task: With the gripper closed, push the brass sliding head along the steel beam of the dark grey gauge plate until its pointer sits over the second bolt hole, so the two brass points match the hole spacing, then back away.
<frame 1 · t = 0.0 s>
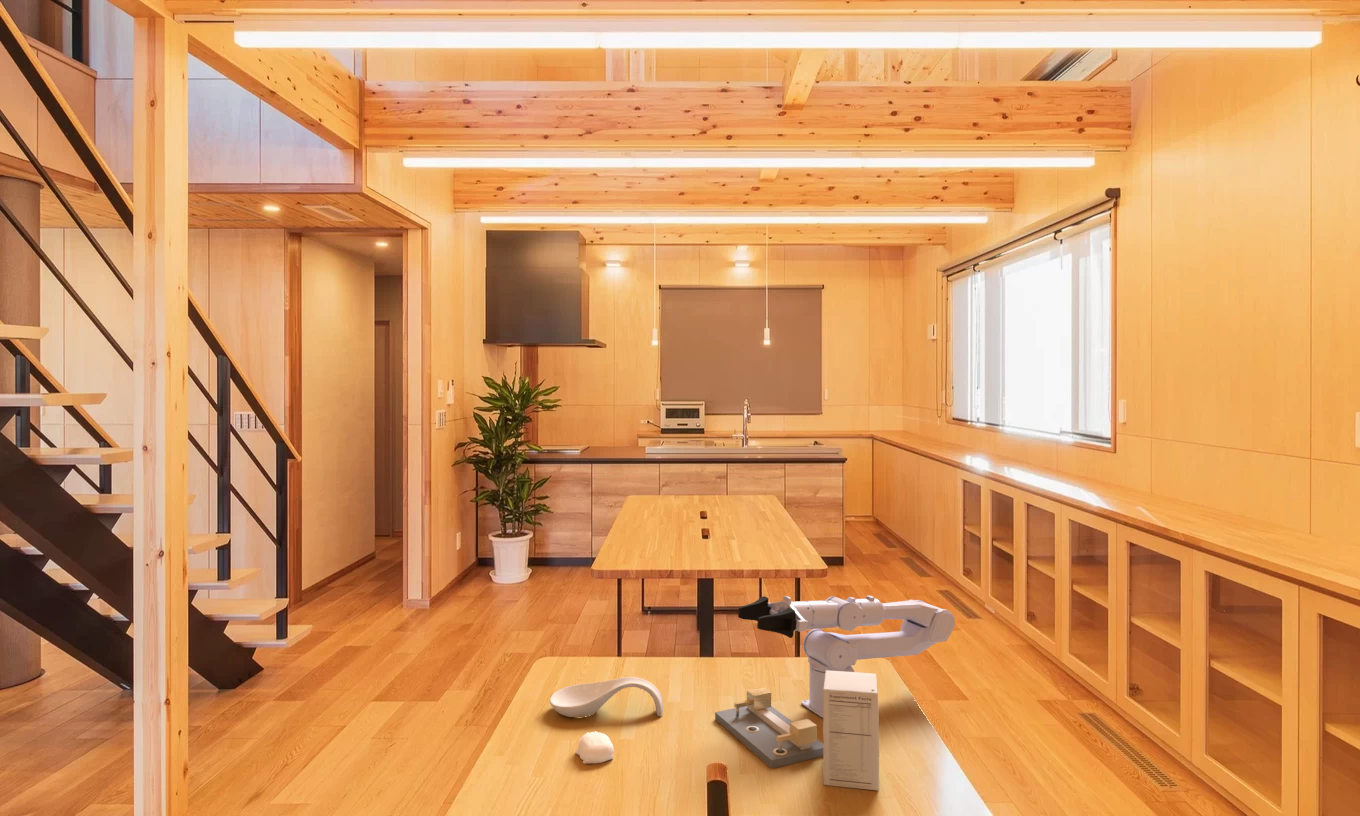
hand: (748, 617, 152), 22 cm above the table, tool horizontal, fingers open, 7 cm apart
supplement box: (850, 776, 133), on the table
gauge plate: (768, 736, 148), on the table
white rounded lump: (595, 757, 140), on the table
spoon rest: (606, 713, 159), on the table
sliding trammel head: (751, 703, 154), point 4 cm above the table, slide at 0.0 cm
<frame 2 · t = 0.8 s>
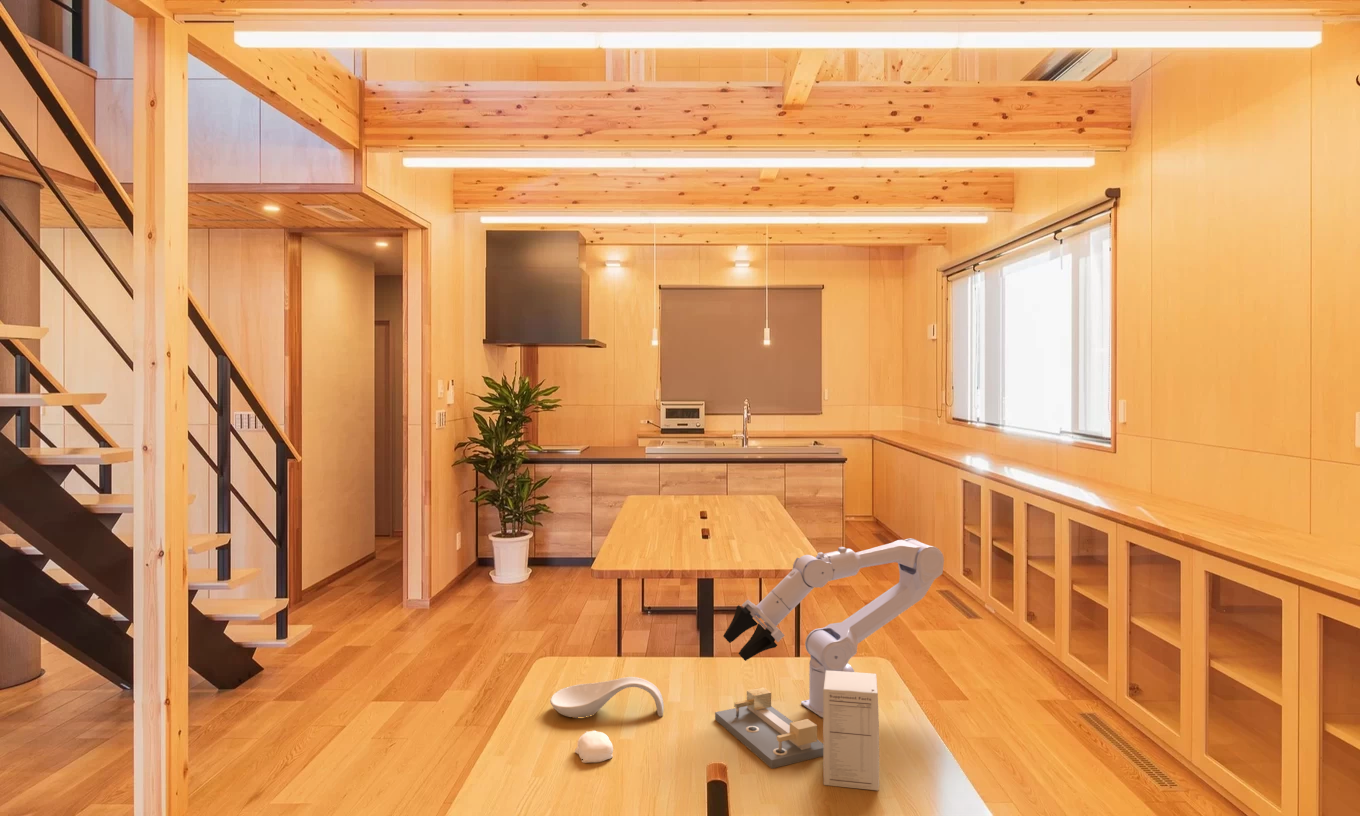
hand: (733, 648, 156), 14 cm above the table, tool tilted 50°, fingers open, 7 cm apart
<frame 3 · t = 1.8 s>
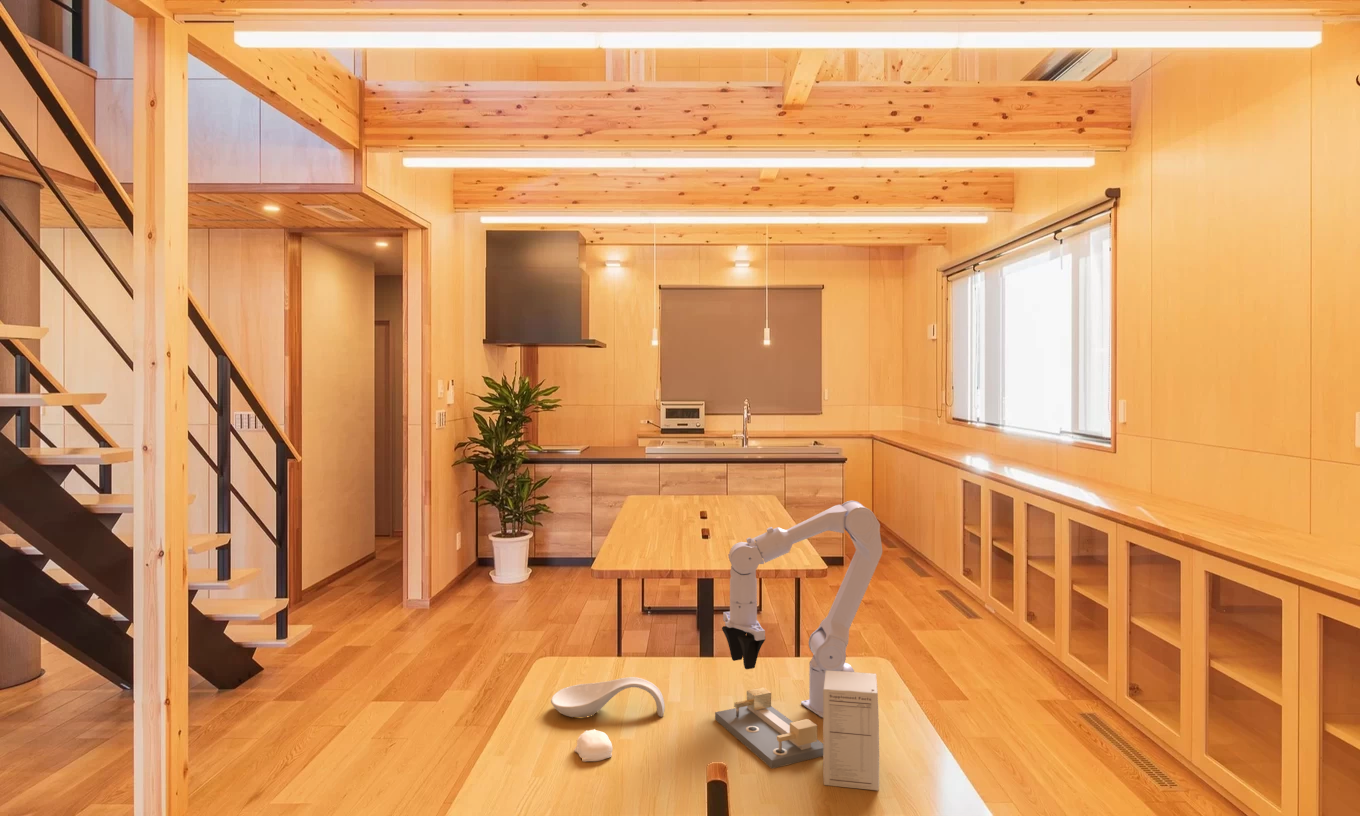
hand: (743, 663, 161), 9 cm above the table, tool pointing down, fingers open, 5 cm apart
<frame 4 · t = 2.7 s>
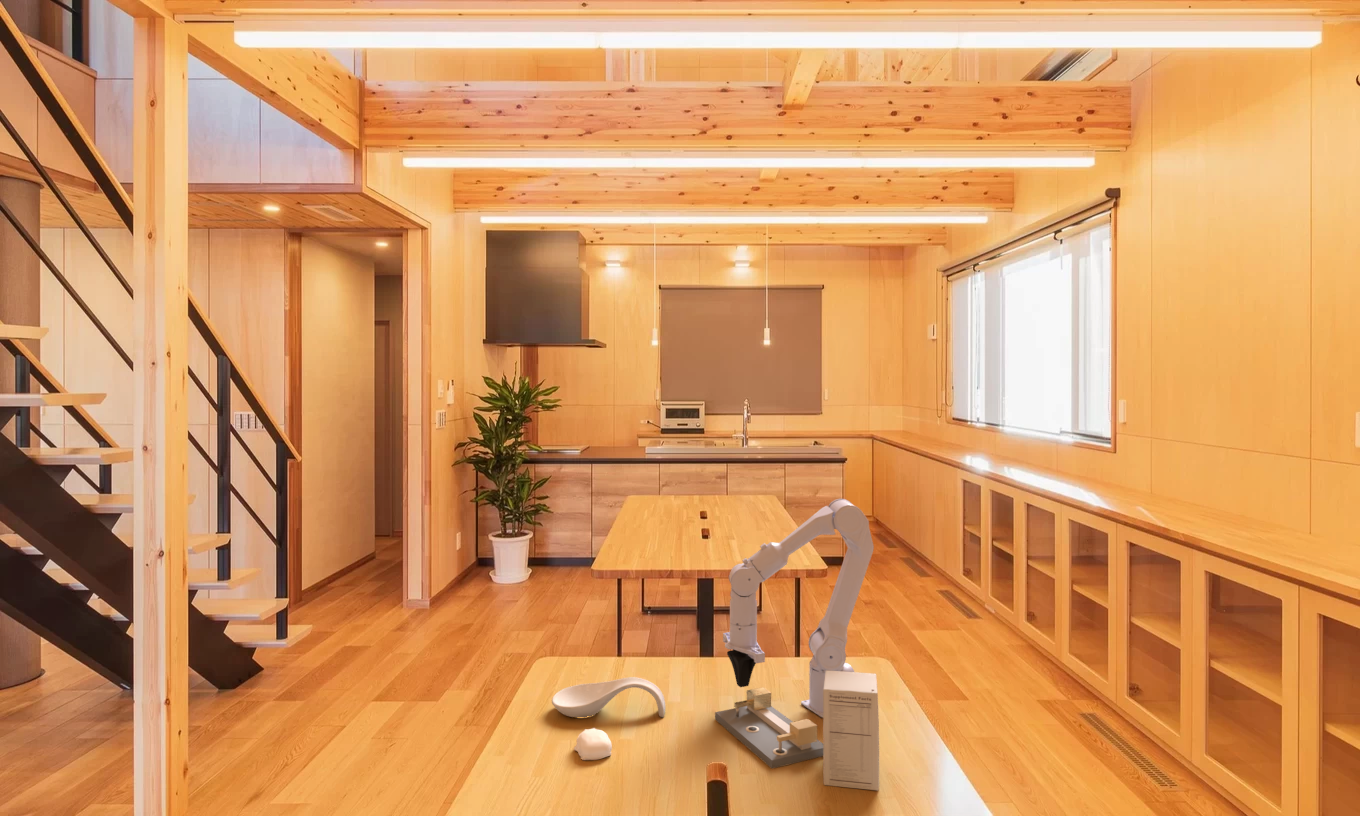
hand: (742, 685, 161), 5 cm above the table, tool pointing down, fingers closed
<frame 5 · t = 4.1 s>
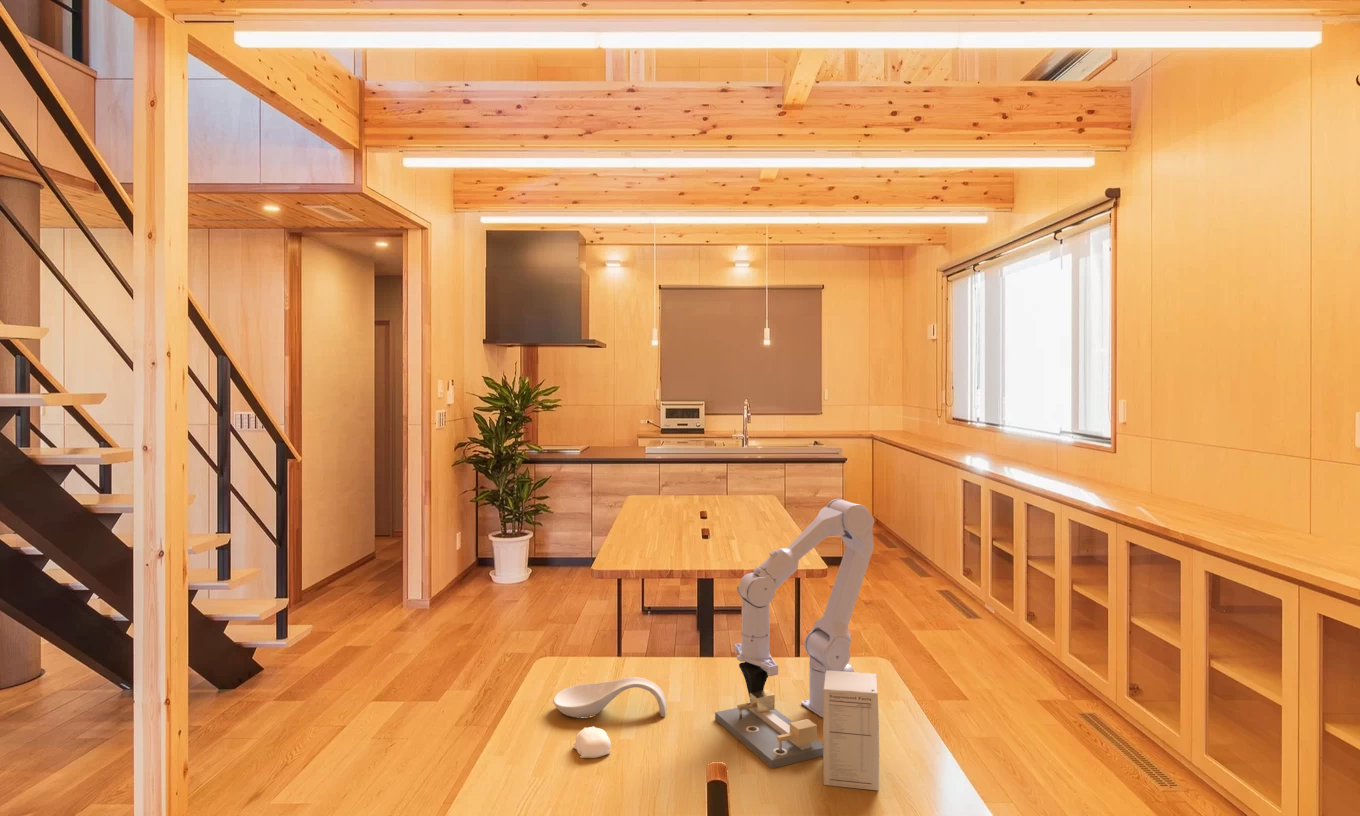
hand: (755, 698, 156), 4 cm above the table, tool pointing down, fingers closed
sliding trammel head: (754, 705, 153), point 4 cm above the table, slide at 1.3 cm, touching gripper
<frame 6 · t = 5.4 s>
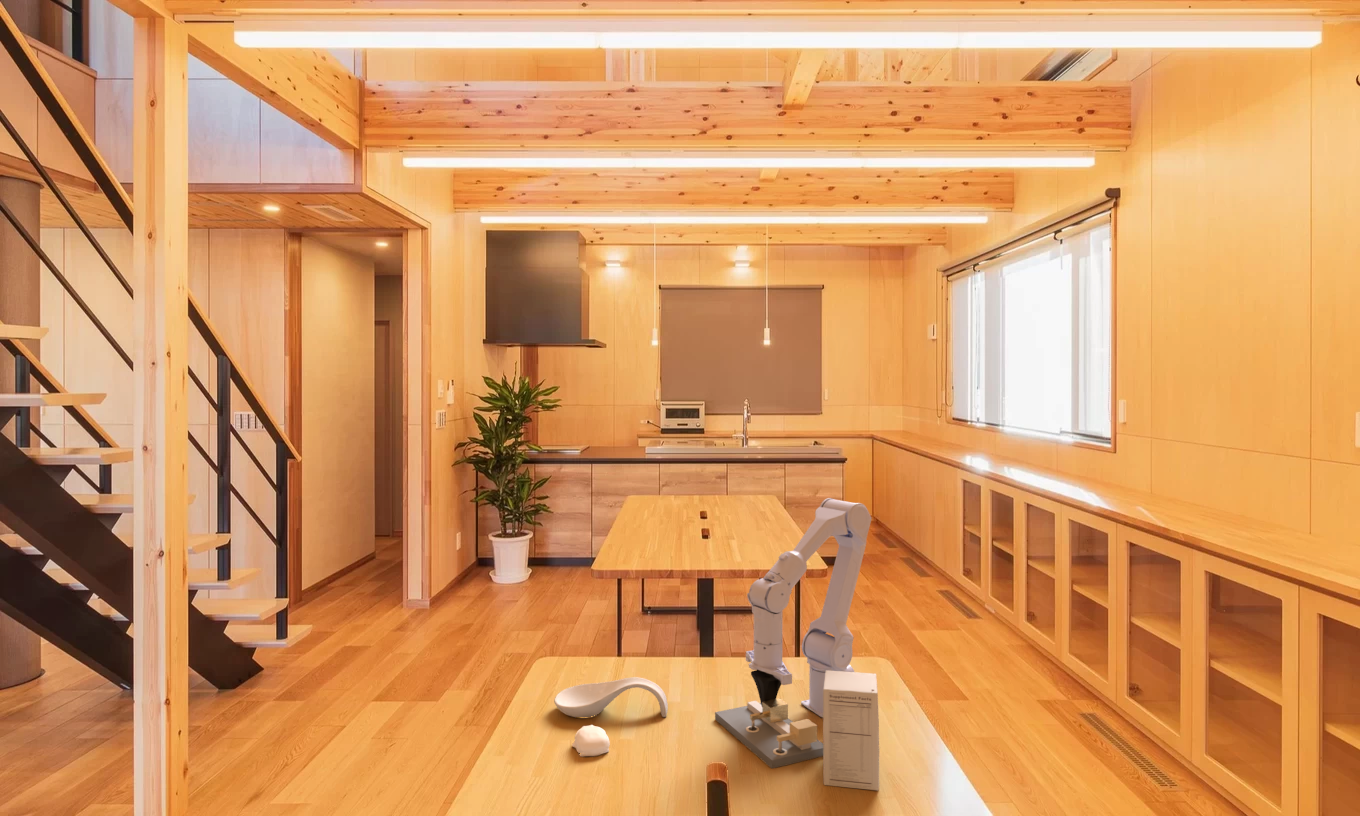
hand: (767, 707, 152), 4 cm above the table, tool pointing down, fingers closed
sliding trammel head: (767, 715, 148), point 4 cm above the table, slide at 6.2 cm, touching gripper
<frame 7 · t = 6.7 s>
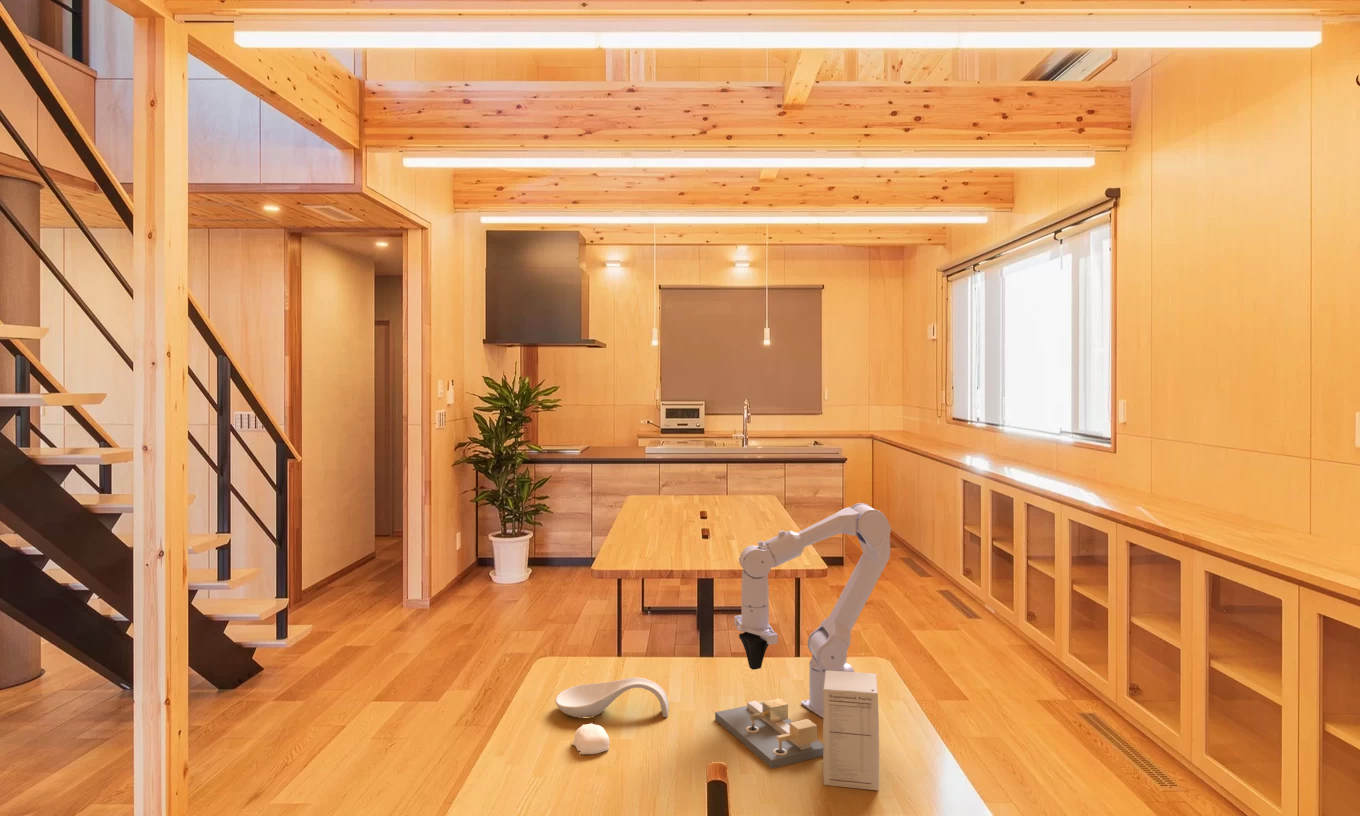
hand: (755, 668, 160), 9 cm above the table, tool pointing down, fingers closed
sliding trammel head: (767, 715, 148), point 4 cm above the table, slide at 6.2 cm
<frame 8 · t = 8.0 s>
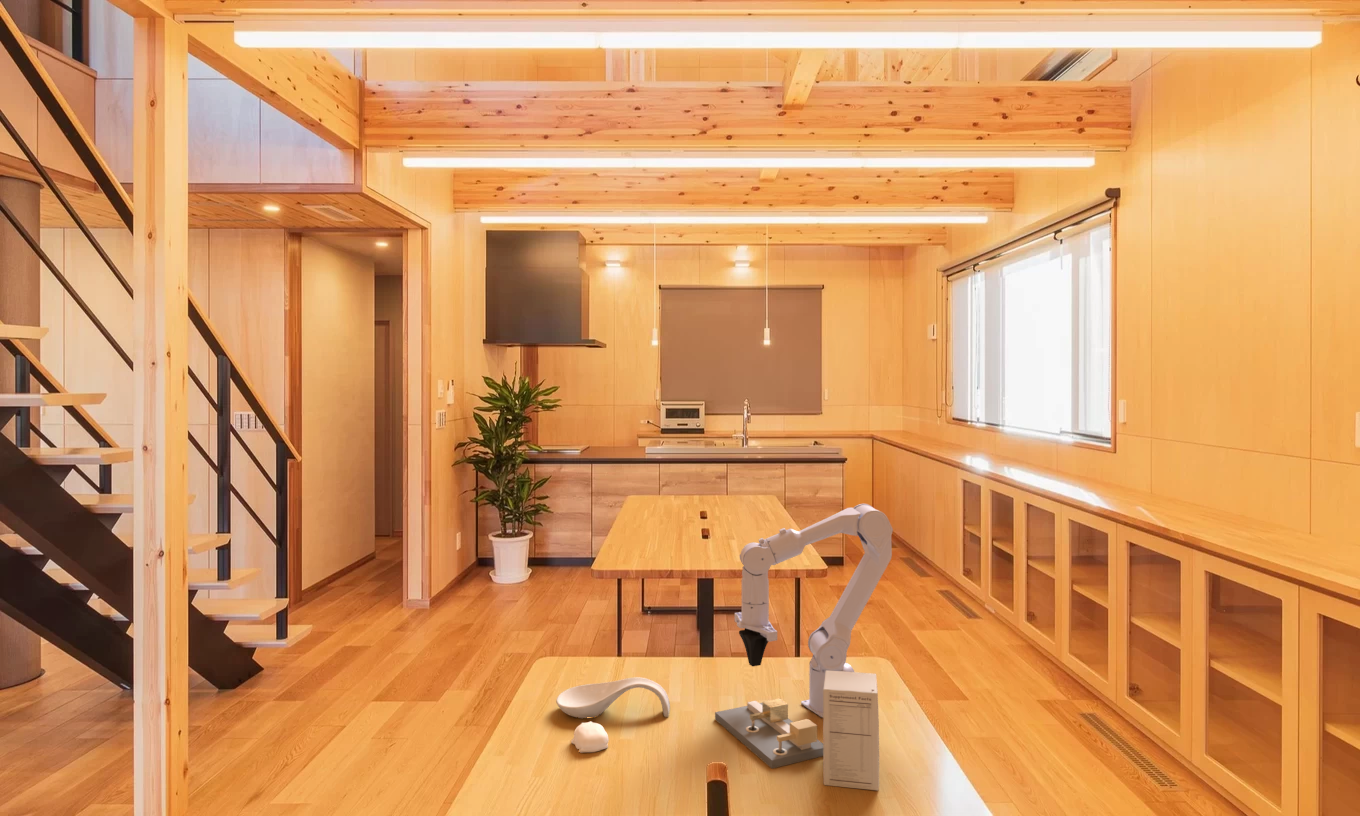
hand: (755, 664, 160), 9 cm above the table, tool pointing down, fingers closed
at the end: sliding trammel head slide at 6.2 cm; supplement box moved 0.2 cm from its start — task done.
